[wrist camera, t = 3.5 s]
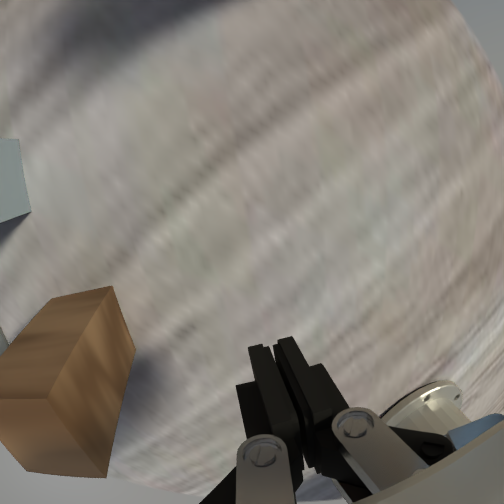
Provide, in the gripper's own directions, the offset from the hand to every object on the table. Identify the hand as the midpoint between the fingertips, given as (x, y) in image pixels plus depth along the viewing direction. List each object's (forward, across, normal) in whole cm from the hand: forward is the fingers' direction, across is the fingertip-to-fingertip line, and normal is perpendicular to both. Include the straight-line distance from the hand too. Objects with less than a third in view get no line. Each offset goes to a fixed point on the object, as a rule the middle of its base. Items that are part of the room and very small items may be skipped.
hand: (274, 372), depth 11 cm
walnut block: (+8, +10, 0) cm, 12 cm away
